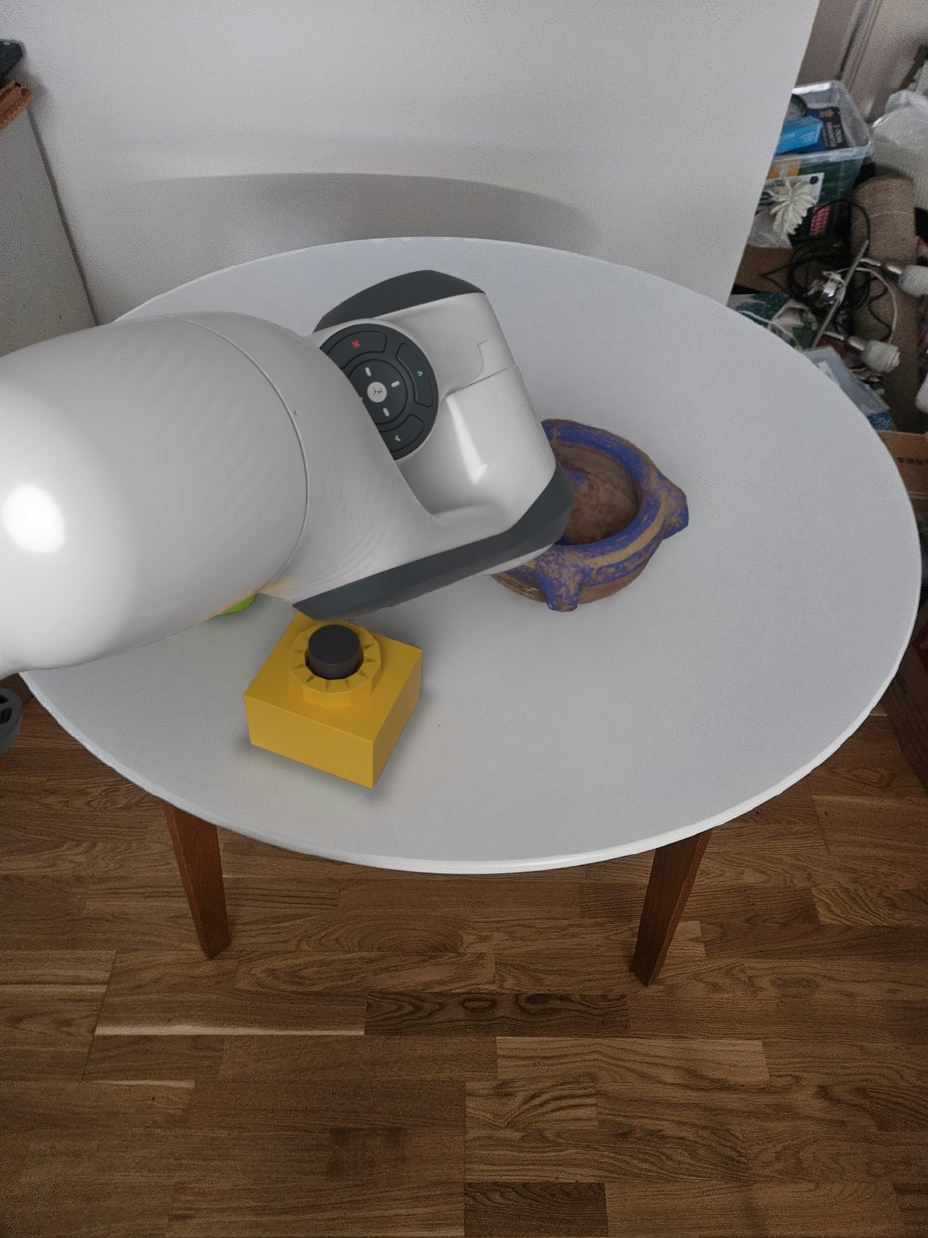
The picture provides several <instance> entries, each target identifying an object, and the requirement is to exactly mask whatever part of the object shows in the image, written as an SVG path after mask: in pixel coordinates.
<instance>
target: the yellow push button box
mask: <svg viewBox="0 0 928 1238" xmlns="http://www.w3.org/2000/svg"><path fill="white" fill-rule="evenodd" d="M327 625H342V626H346V627H348V628H350V629H351V630H353V631H354V632H355V633H356V634H357V636H358V638H359V641H360V663H359V666H358V668H357V669H356V670H355V671H354V672H353V673H352V674H351V675H349V676H347V677H345V678H342V679H326V678H323V677H321V676H319V675H317V674H316V673H315V672H314V671H313V670H312V669H311V667H310V664H309V654H308V641H309V638H310V637H311V635H312V634H313V633H314V632H315V631H316V630H317V629H319V628H321V627H324V626H327ZM266 658H267V659H266V660H265V661H264V663H263V664H262V666H261V667H260V669H259V670H258V672H257V673H256V674H255V677H253V679H252V681H251V682H250V684H249V686H247V688H246V690H245V692H244V693H243V694H242V698H243V705H244V710H245V716H246V722H247V728H248V736H249V742H250V744H251V745H254V746H256V747H259V748H262V749H264V750H267V751H269V752H272V753H274V754H278V755H280V756H283V757H286V758H288V759H291V760H294V761H295V762H298V763H301V764H304V765H307V766H309V767H312V768H315V769H316V770H320V771H323V772H326V773H328V774H330V775H333V776H336V777H338V778H341V779H344V780H347V781H349V782H352V783H354V784H357V785H360V786H363V787H365V788H368V789H370V790H374V787H375V785H376V784H377V782H378V780H379V778H380V776H381V774H382V772H383V770H384V768H385V766H386V765H387V762H388V761H389V758H390V757H391V754H392V752H393V751H394V749H395V746H396V745H397V743H398V741H399V739H400V737H401V735H402V733H403V731H404V729H405V727H406V725H407V724H408V721H409V719H410V718H411V715H412V714H413V711H414V709H415V707H416V706H417V704H418V701H419V700H420V693H421V676H422V665H423V664H422V663H423V662H422V661H423V648H422V649H421V648H420V647H416V646H413V645H410V644H407V643H405V642H402V641H399V640H396V639H393V638H390V637H387V636H384V635H381V634H378V633H377V632H376V633H375V632H374V631H370V630H368V629H366V628H365V627H362V626H359V625H356V624H353V623H350V622H347V621H346V620H340V621H314V620H312V619H311V618H309V617H308V616H306V615H305V614H303V613H302V612H300V611H298V612H297V614H296V615H295V616H294V617H293V620H292V621H291V623H290V624H289V625H288V627H287V628H286V630H285V631H284V633H283V634H282V636H281V637H280V639H279V640H278V642H277V644H276V645H275V647H274V648H273V649H272V651H271V652H270V654H269V655H268V656H267V657H266Z"/></svg>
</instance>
